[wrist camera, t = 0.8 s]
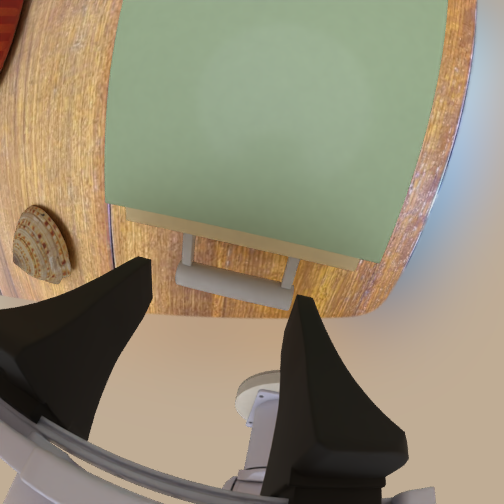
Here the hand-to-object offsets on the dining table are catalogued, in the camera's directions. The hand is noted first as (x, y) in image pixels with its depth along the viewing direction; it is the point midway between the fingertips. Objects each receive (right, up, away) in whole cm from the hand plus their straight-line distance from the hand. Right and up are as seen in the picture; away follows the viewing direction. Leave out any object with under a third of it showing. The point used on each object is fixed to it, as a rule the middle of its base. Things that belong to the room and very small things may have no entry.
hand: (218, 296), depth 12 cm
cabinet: (+3, +13, +4) cm, 14 cm away
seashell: (-20, +3, +14) cm, 25 cm away
